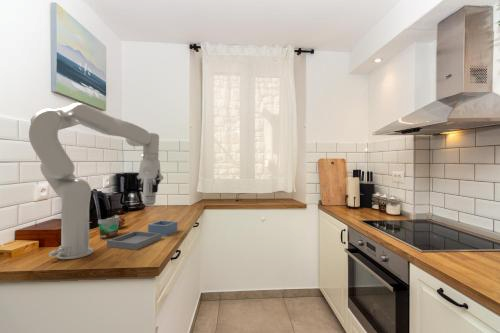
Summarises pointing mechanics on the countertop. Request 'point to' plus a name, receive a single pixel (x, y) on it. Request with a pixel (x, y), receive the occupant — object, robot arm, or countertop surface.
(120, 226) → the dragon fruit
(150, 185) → the energy drink can
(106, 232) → the food container
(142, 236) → the tray
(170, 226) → the blue square box
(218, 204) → the countertop surface
